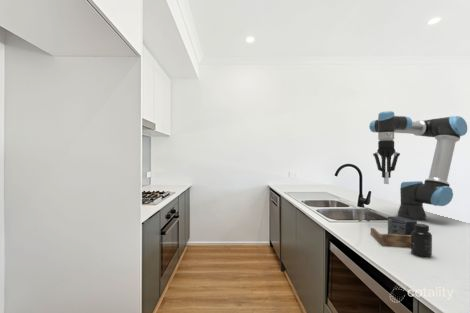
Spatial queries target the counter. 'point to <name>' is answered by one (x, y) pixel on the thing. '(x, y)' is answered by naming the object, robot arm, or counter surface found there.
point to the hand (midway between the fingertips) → (386, 183)
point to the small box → (400, 225)
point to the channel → (392, 239)
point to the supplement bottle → (421, 241)
